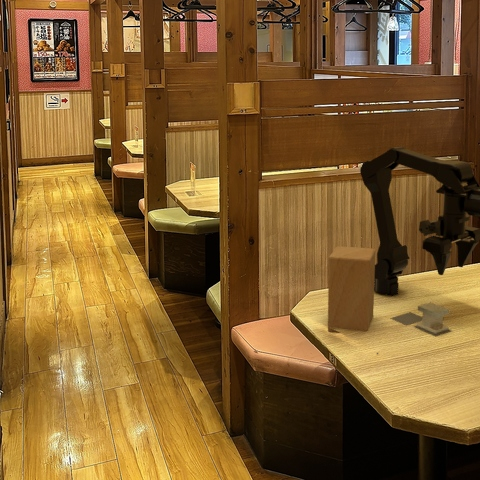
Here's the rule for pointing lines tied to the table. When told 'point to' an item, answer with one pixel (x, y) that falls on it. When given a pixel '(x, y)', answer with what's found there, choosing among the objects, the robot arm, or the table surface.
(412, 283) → the table surface
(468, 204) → the robot arm
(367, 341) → the table surface
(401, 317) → the stand
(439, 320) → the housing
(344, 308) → the wooden block
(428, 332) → the stand
